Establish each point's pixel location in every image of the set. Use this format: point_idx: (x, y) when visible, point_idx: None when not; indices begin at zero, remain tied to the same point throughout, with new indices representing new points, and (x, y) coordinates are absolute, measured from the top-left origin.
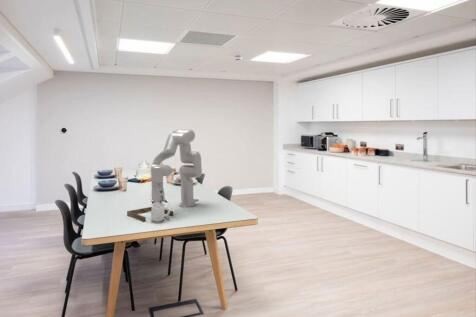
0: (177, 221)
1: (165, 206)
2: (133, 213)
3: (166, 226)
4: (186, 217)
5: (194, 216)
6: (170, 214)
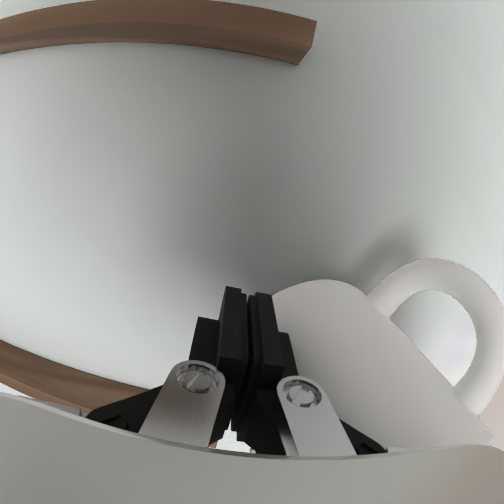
0: (488, 227)
1: (487, 401)
2: (9, 385)
3: (464, 373)
4: (471, 52)
5: (489, 2)
6: (259, 51)
